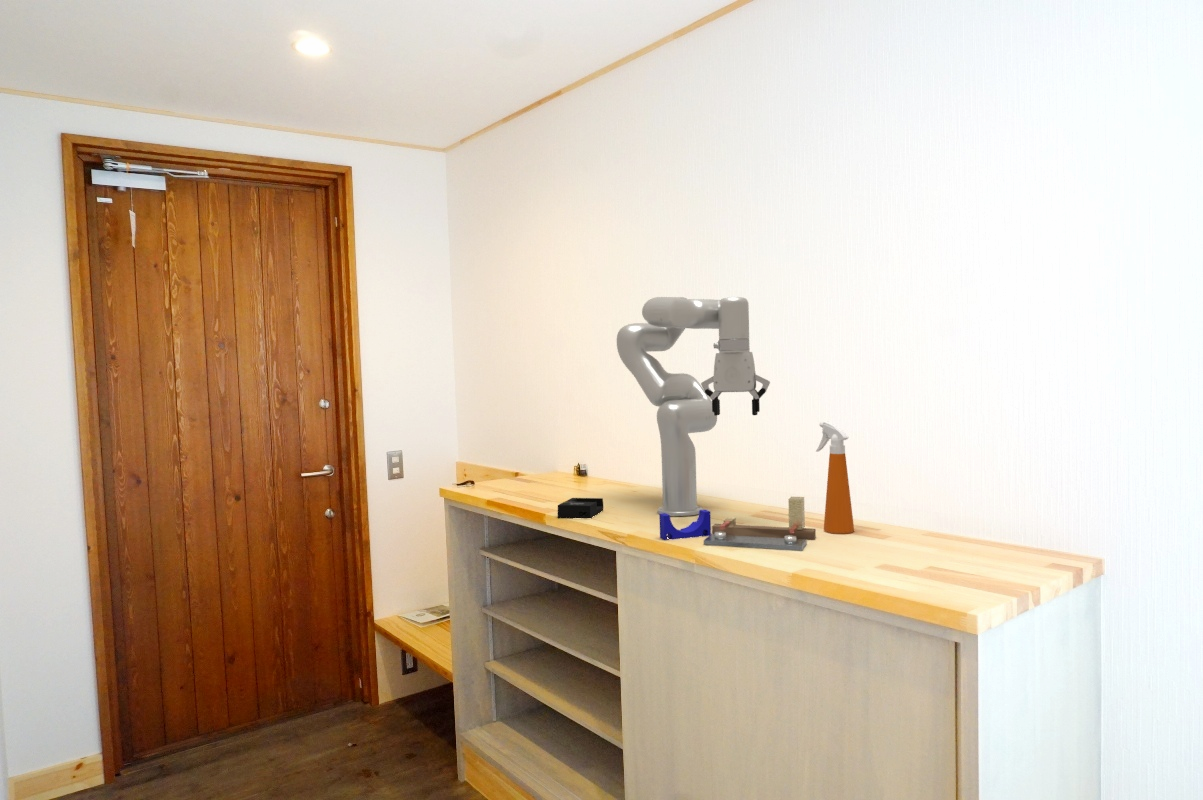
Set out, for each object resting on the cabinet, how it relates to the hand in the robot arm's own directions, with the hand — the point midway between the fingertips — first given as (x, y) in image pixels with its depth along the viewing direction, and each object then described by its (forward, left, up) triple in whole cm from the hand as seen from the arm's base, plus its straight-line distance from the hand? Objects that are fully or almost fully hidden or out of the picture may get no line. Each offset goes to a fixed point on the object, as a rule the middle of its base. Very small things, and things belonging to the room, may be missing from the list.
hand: (735, 415), depth 197 cm
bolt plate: (+19, +8, -28) cm, 35 cm away
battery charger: (-6, -46, -29) cm, 55 cm away
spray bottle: (-2, +23, -28) cm, 37 cm away
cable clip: (+14, -10, -29) cm, 33 cm away
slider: (+12, +16, -26) cm, 33 cm away
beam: (+12, +8, -28) cm, 32 cm away
